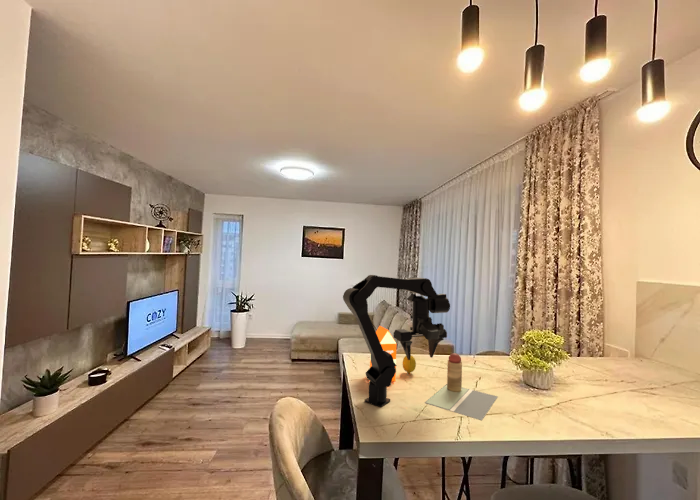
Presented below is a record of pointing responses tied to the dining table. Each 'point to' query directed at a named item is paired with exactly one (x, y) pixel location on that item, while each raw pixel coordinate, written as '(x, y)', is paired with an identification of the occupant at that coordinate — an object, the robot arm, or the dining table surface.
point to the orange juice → (386, 344)
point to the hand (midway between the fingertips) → (420, 358)
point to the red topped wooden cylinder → (454, 373)
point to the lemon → (409, 364)
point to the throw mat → (463, 402)
